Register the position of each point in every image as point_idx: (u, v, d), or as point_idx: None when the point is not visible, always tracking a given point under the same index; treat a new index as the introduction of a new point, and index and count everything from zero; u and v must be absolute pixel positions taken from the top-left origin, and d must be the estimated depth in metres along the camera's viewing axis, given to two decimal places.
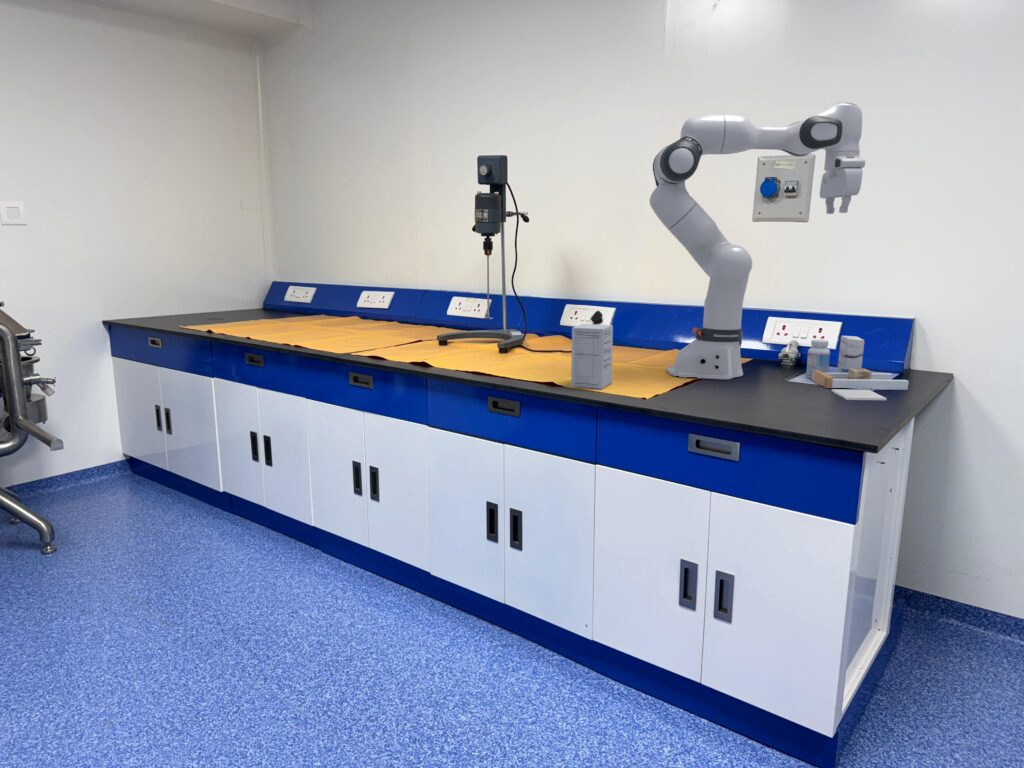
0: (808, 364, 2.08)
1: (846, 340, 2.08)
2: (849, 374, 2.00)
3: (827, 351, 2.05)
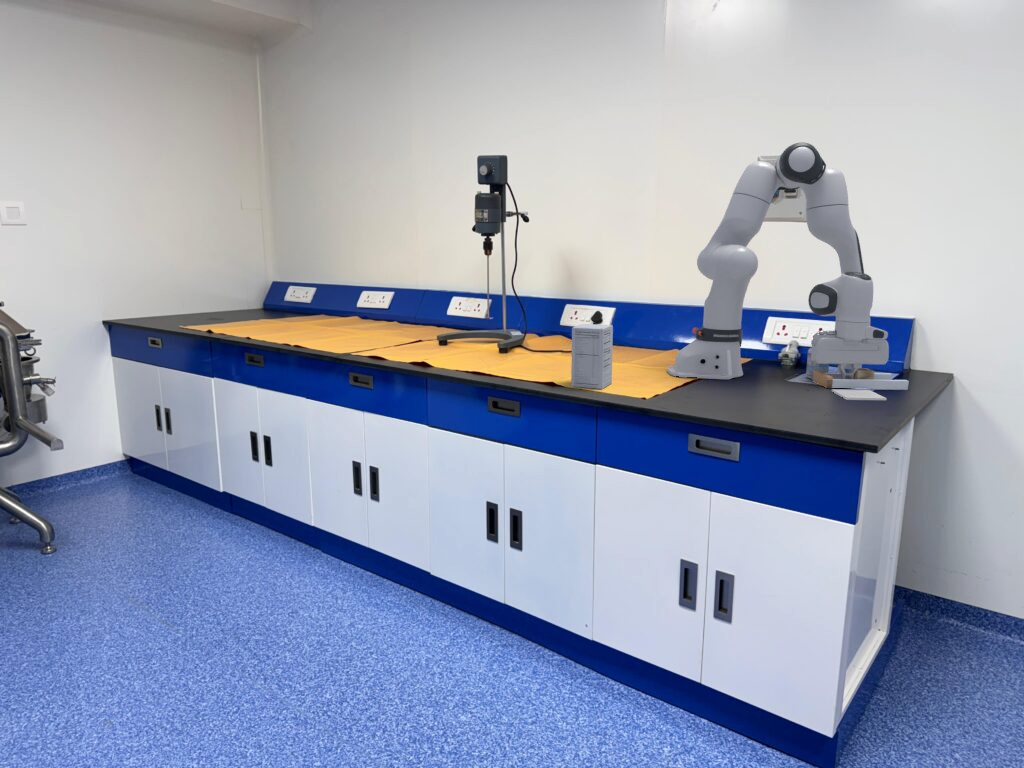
0: (808, 364, 2.08)
1: None
2: None
3: None
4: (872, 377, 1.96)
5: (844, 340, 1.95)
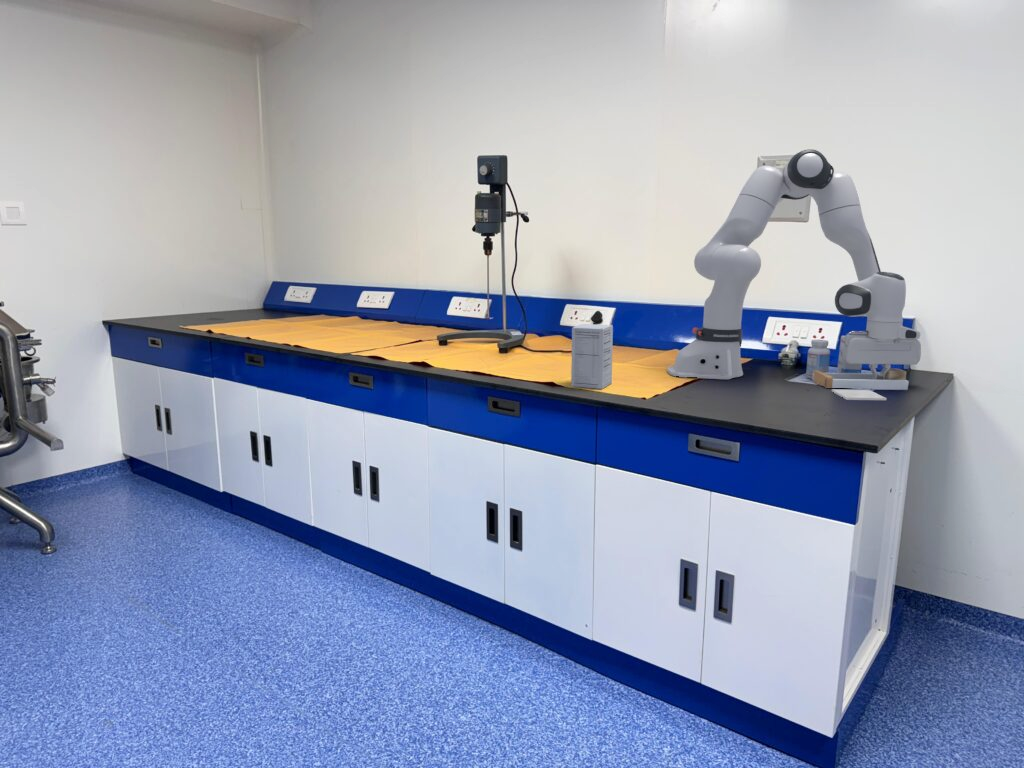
0: (808, 364, 2.08)
1: None
2: None
3: (827, 351, 2.05)
4: (904, 377, 1.96)
5: (876, 340, 1.94)
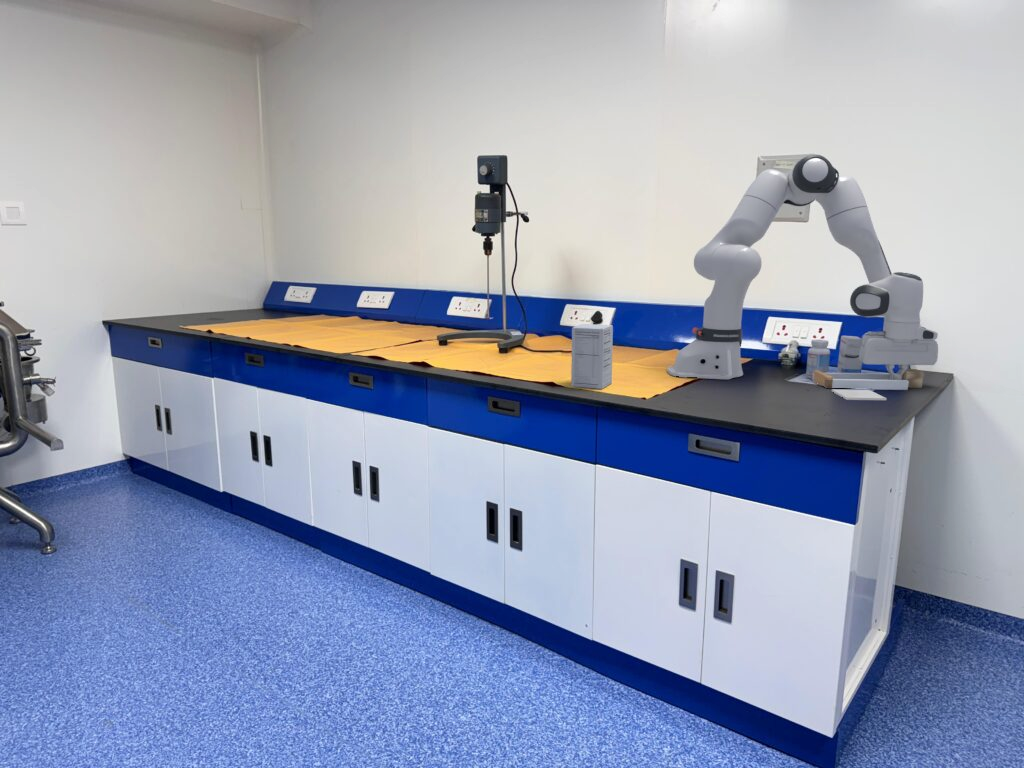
0: (808, 364, 2.08)
1: (846, 340, 2.08)
2: None
3: (827, 351, 2.05)
4: (921, 378, 1.96)
5: (893, 341, 1.94)
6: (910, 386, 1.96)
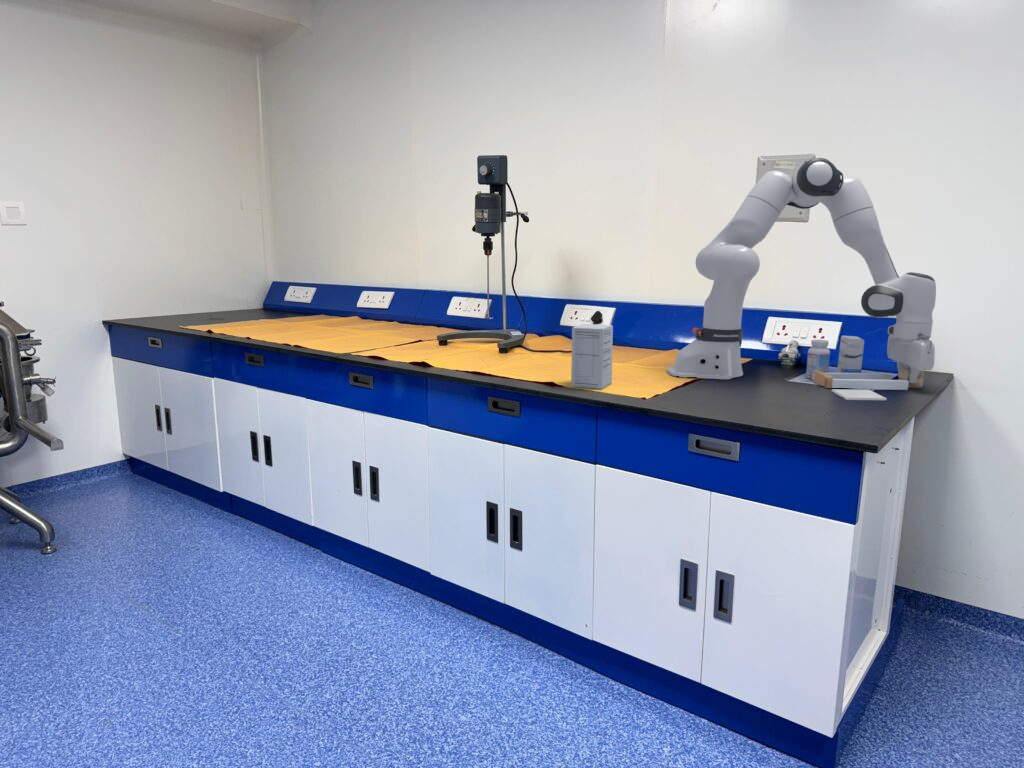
0: (808, 364, 2.08)
1: (846, 340, 2.08)
2: (900, 374, 1.99)
3: (827, 351, 2.05)
4: (921, 378, 1.96)
5: None
6: (910, 386, 1.96)
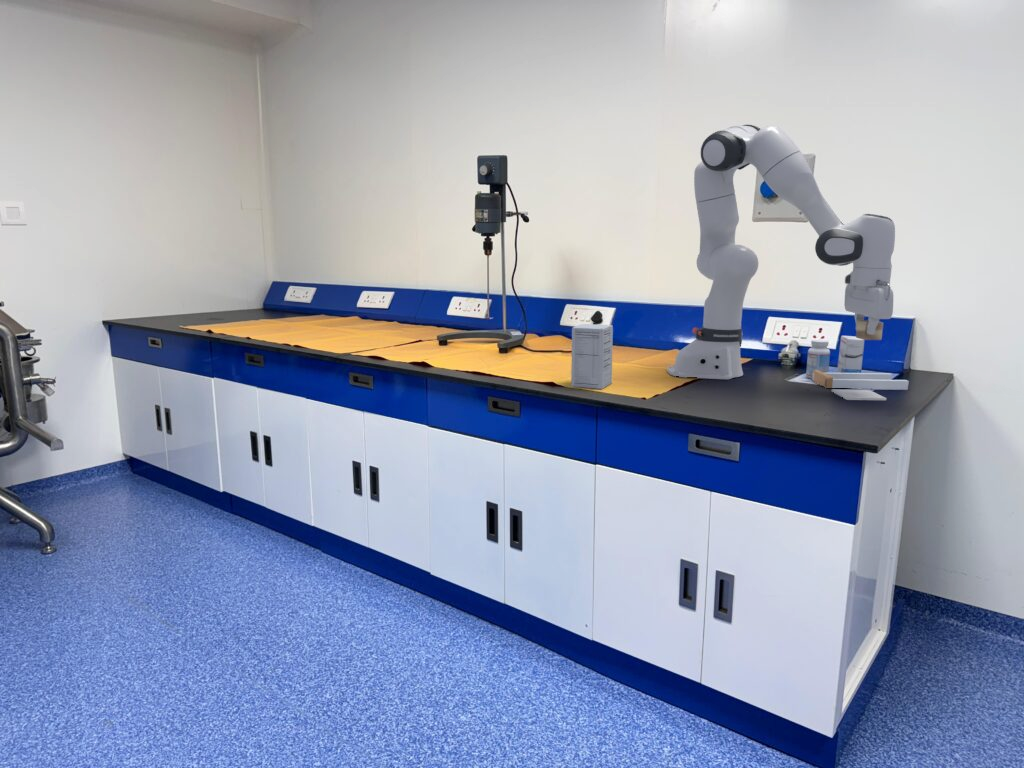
0: (808, 364, 2.08)
1: (846, 340, 2.08)
2: (858, 326, 1.83)
3: (827, 351, 2.05)
4: (881, 329, 1.80)
5: None
6: (869, 338, 1.80)
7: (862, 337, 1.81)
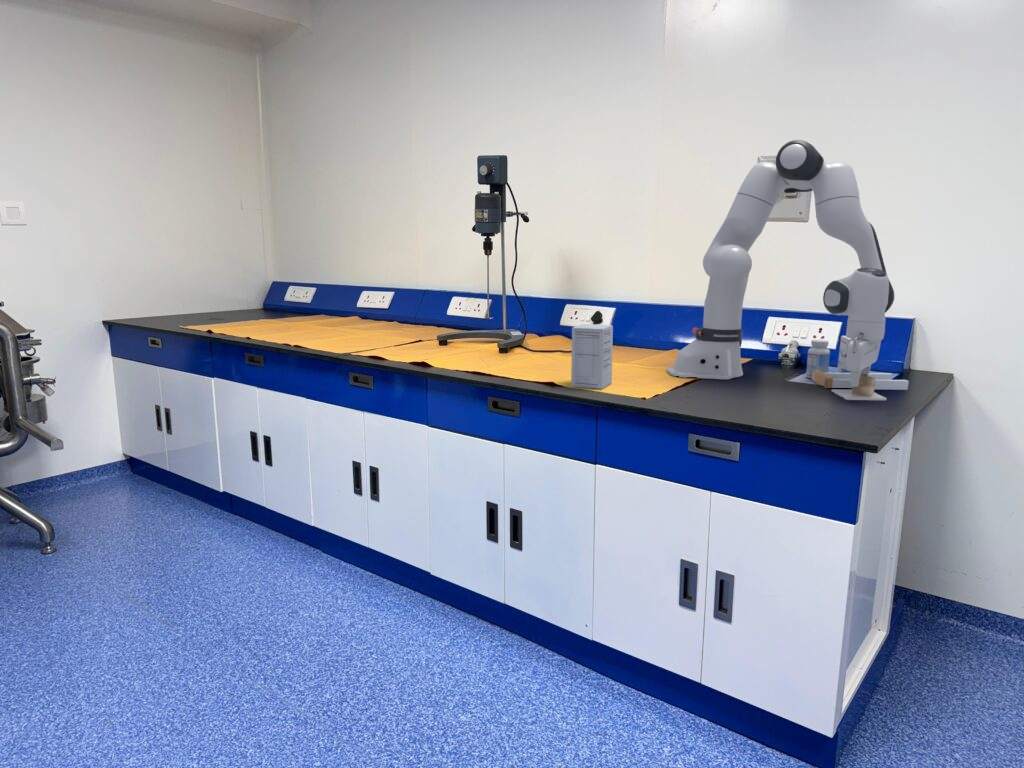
0: (808, 364, 2.08)
1: (846, 340, 2.08)
2: None
3: (827, 351, 2.05)
4: (869, 386, 1.82)
5: (869, 342, 1.79)
6: (857, 394, 1.84)
7: None
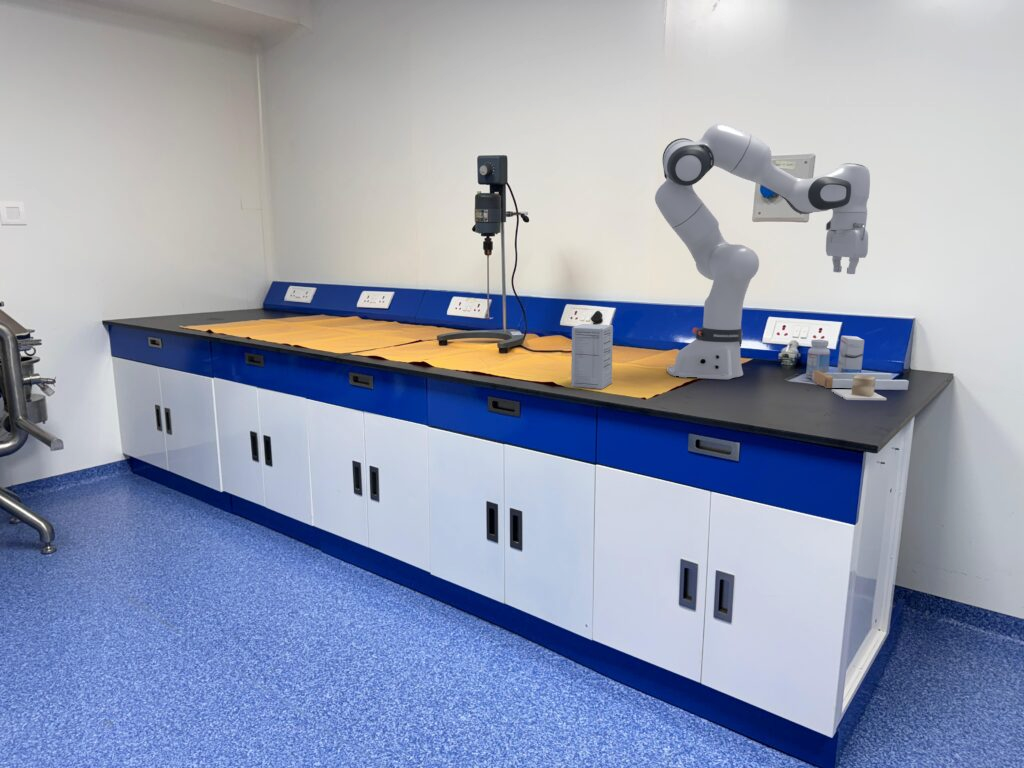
0: (808, 364, 2.08)
1: (846, 340, 2.08)
2: None
3: (827, 351, 2.05)
4: (869, 386, 1.82)
5: None
6: (857, 394, 1.84)
7: None
